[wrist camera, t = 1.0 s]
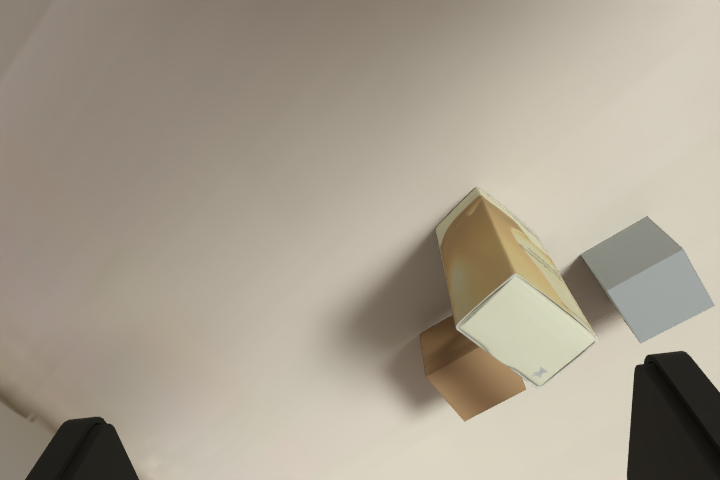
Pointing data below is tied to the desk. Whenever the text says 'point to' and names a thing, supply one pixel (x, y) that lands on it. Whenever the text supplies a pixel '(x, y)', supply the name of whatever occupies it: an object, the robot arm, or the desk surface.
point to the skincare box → (509, 291)
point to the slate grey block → (647, 279)
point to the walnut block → (465, 371)
